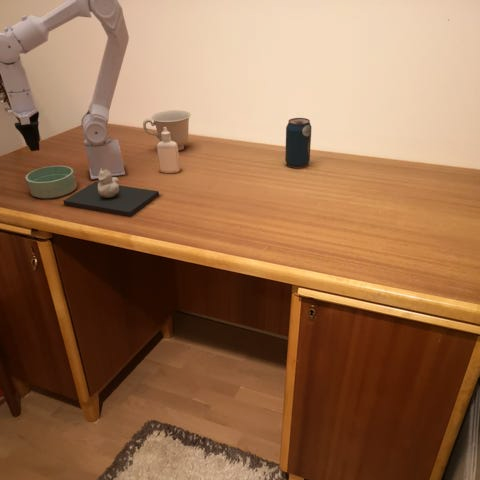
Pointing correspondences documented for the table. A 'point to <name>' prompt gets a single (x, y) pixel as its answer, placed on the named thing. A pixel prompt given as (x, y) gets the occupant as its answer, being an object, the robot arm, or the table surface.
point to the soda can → (298, 142)
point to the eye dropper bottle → (168, 154)
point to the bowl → (51, 181)
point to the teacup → (171, 125)
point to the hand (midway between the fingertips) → (35, 146)
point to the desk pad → (112, 200)
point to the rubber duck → (107, 184)
